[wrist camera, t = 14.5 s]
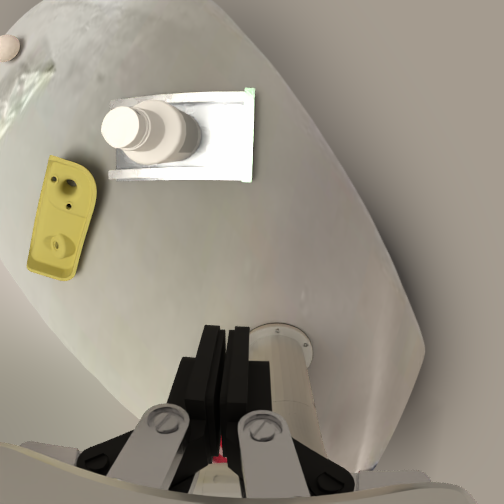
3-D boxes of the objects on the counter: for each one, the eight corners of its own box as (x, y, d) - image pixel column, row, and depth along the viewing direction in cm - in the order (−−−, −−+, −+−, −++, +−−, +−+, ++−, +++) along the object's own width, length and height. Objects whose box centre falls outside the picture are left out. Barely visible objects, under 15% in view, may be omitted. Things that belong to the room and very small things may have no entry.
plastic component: (73, 284, 43) (20, 268, 38) (78, 258, 49) (30, 243, 43) (106, 173, 36) (43, 151, 31) (111, 158, 42) (56, 139, 36)
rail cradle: (251, 180, 40) (251, 182, 37) (119, 180, 40) (108, 183, 37) (254, 93, 36) (254, 88, 33) (120, 100, 36) (110, 96, 33)
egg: (22, 34, 30) (-2, 25, 23) (28, 48, 32) (3, 41, 25) (5, 54, 31) (-19, 48, 24) (11, 69, 33) (-15, 64, 26)
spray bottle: (212, 133, 37) (178, 117, 20) (178, 172, 39) (123, 187, 22) (175, 102, 36) (118, 70, 19) (143, 141, 37) (70, 138, 20)
